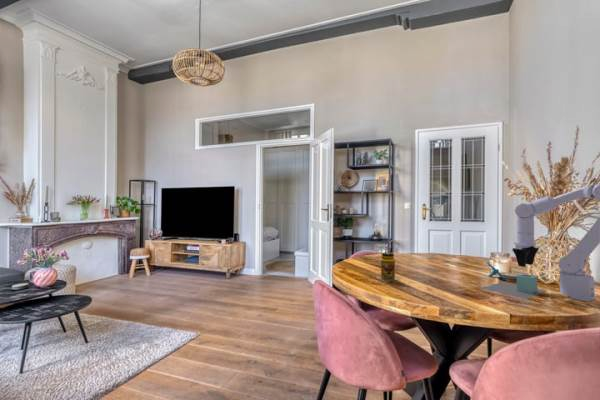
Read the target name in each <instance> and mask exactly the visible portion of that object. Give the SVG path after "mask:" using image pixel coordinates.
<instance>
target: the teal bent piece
mask: <svg viewBox="0 0 600 400" xmlns="http://www.w3.org/2000/svg"><path fill="white" fill-rule="evenodd" d="M486 264H487V265H488V266H489V268H490V269H492V271H491V273H490V274H489V275H488V276H487V277H489V278H491V277H493V276H495V275H498V276H499V277H500V278H502V280H506V277H505V276H503V274H502V273H501V272H500V270H499V269H498V268H495V267H494V265H492V264H491V263H490V262H486ZM504 277H505V278H504Z"/></svg>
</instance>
